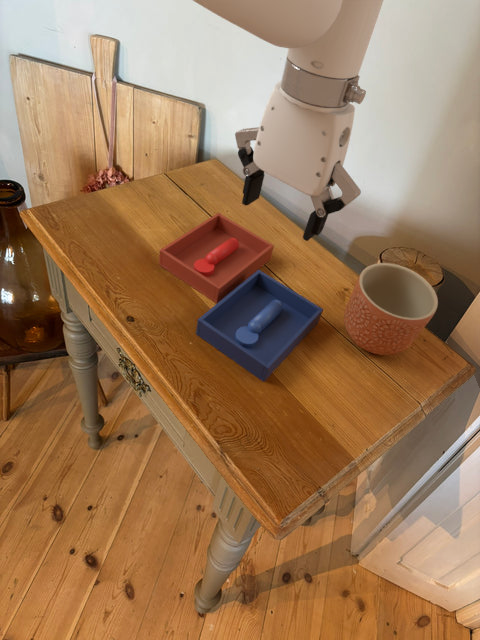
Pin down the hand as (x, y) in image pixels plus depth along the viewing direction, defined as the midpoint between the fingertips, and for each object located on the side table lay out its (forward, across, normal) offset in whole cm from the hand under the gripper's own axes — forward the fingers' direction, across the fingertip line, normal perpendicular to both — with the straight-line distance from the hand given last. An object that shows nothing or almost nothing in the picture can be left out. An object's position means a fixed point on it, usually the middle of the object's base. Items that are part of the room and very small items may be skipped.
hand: (279, 218), depth 61 cm
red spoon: (+20, +13, -7) cm, 25 cm away
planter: (+20, -17, -12) cm, 29 cm away
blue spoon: (+20, -2, 0) cm, 20 cm away
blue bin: (+21, -2, 0) cm, 21 cm away
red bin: (+21, +13, -7) cm, 26 cm away
